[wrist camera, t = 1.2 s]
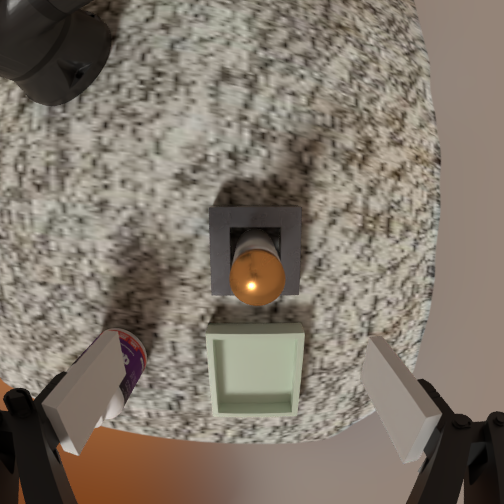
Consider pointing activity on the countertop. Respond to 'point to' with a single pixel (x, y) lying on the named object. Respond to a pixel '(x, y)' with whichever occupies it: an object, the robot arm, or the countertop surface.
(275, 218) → the socket block
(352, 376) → the countertop surface
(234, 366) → the tray
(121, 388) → the pill bottle
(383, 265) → the countertop surface
